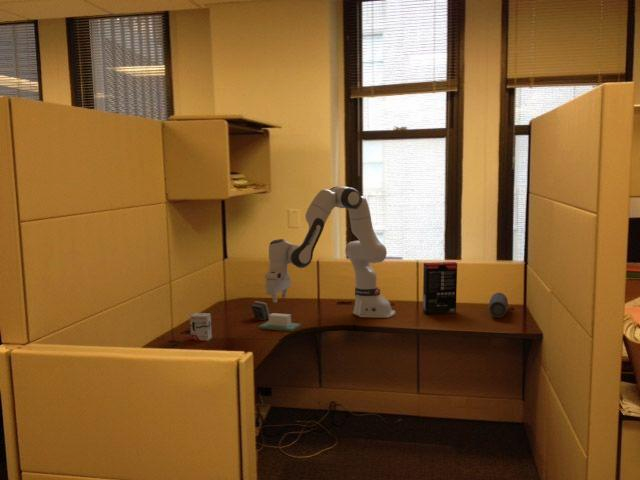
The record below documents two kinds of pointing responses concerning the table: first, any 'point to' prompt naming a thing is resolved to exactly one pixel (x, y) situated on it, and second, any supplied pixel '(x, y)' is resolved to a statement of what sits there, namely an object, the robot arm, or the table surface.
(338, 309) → the table surface
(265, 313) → the electrical switch
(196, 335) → the ink box
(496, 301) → the bluetooth speaker
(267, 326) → the header board
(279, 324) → the block
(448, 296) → the graphics card box
